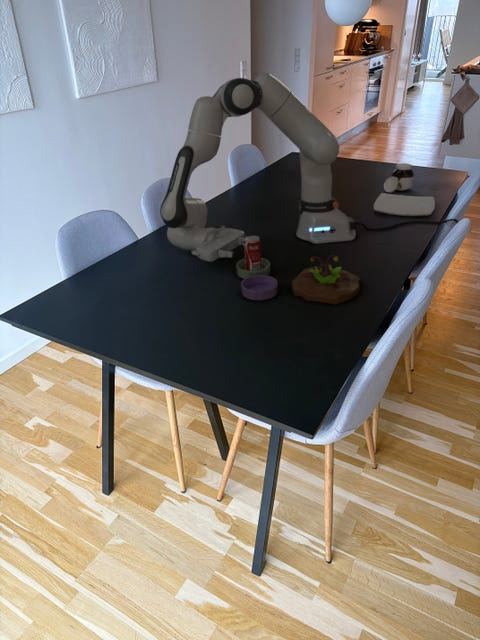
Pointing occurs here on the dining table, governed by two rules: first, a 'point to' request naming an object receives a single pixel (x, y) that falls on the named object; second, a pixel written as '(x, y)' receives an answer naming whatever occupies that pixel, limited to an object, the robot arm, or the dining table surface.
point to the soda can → (252, 253)
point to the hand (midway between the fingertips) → (240, 249)
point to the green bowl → (244, 273)
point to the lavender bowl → (259, 287)
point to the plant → (326, 283)
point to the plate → (404, 205)
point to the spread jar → (400, 179)
